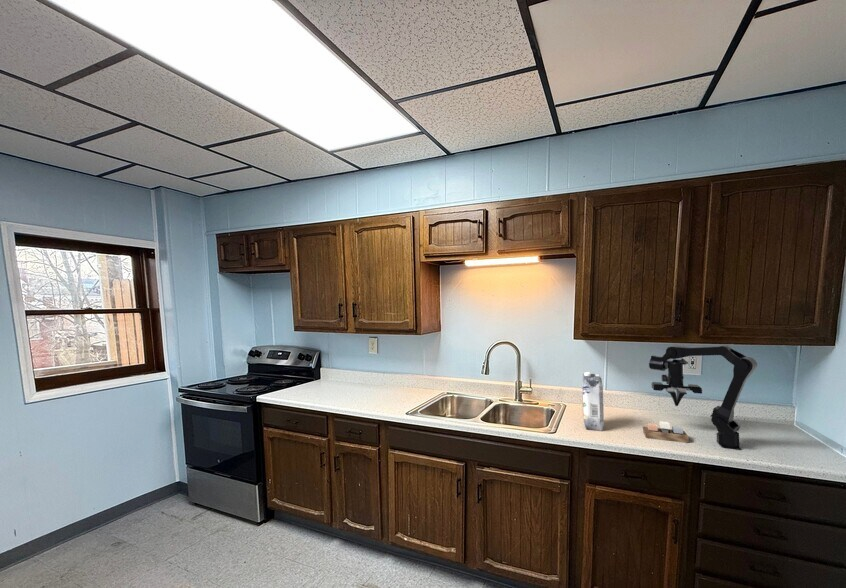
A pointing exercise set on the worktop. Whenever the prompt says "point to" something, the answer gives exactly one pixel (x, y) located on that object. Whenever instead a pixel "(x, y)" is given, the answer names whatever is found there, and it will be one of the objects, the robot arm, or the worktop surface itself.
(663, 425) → the key ivory
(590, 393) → the juice carton
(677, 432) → the key slate
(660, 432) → the key panel
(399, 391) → the worktop surface
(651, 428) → the key terracotta
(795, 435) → the worktop surface
